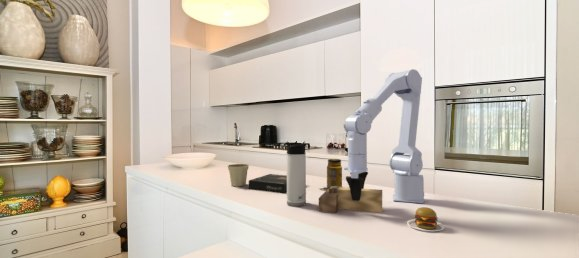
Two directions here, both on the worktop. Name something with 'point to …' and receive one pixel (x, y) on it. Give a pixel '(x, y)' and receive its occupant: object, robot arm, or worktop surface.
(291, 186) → the travel mug
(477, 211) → the worktop surface
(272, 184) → the portable cd player
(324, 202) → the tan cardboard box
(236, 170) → the flower pot
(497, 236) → the worktop surface
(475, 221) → the worktop surface
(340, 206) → the rail
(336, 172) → the condiment
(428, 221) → the hamburger
